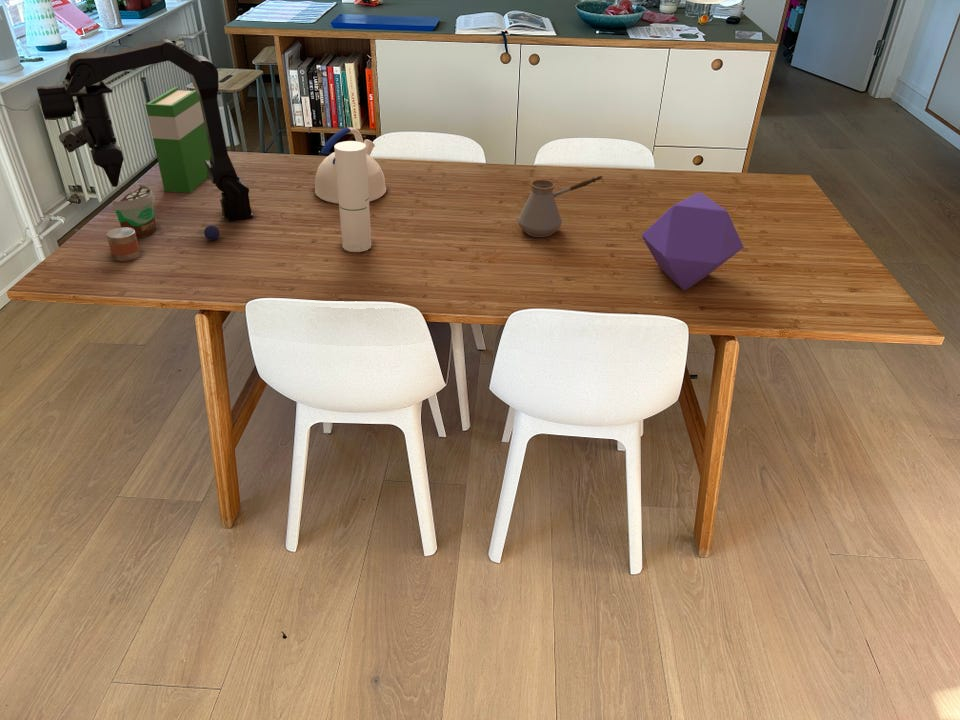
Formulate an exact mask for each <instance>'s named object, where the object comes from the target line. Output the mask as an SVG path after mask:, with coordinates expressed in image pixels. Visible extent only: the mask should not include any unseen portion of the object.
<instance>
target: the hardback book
mask: <svg viewBox="0 0 960 720" xmlns="http://www.w3.org/2000/svg"><path fill="white" fill-rule="evenodd" d="M144 106H145V110H146V114H147V118H148V123H149V127H150V132H151V136H152V141H153V145H154V150H155V154H156V159H157V163H158V166H159V167H158V168H159V173H160V177H161V183H162V187H163V190H164V192H170V193H171V192H173V193H186V194H191V193H192V192H193V191H195V189H196V188H198V187H199V186H200V185H201V184H202V183H203V182H204V181H205V180H206V179H207V178H209V177H208V176H207V167H206V164H205V162H204V161H210V155H211V153H210V148H209V143H208V138H207V133H206V129H205V124H204V119H203V114H202V109H201V105H200V100H199V97H198V94H197V92H196V90H195V89H193V90H179V87H178V86H174V87H173V88H171V89H169V90H167V91H166V92H164V93H162V94H161V95H158V96H157V97H155V98H154V99H152V100H150V101H148V102H146V103H145V104H144Z"/></svg>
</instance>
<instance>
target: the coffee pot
mask: <svg viewBox="0 0 960 720" xmlns="http://www.w3.org/2000/svg"><path fill="white" fill-rule="evenodd" d="M603 178H604V177H603V175H598V176H596V177H592V178H591V179H587V180H583V181H581V182H579V183H576V184H574V185H572V186H569V187H567V188H565V189H562V190H559V191H556V192H554V189H555V188H556V183H555V182H553V181H552V180H549V179H534V180H531V181H530V183H529V186H530V187H531V192H530V194H529V196H528V198H527V200H526V201H525V204H524V206H523V207H522V209H521V211H520V213H519V215H518V217H517V223H518V226H519V227H520V228H521V230H522V231H524V233H525V234H526V235H528V236H531V237H536V238H546V237H550V236H552V235H553V234H555V233H556V232H557V231H558V230H559V229H560V228H561V226H562V224H563V222H562V217H561V214H560V212H559V209H558V205H557V203H556V199H555V198H556V197H558V196H560V195H563V194H566V193H568V192H570V191H575V190H578V189H580V188H583V187H587V186H588V185H589V184H592V183H596V181H600V180H601V183H602V184H603V185H604V184H605V181H604V179H603ZM553 192H554V193H553Z"/></svg>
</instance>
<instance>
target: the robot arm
mask: <svg viewBox="0 0 960 720" xmlns="http://www.w3.org/2000/svg"><path fill="white" fill-rule="evenodd" d="M164 62H170V63H172V64H173V65H175V66H176V67H179V69H181V70H183V71H185V72H186V73H188V76H189V78H190V81H191V83H192V86H193V88H194V90H196V92H197V94H198V97H199V100H200V105H201V109H202V114H203V119H204V124H205V129H206V133H207V138H208V143H209V148H210V153H211V155H210V161H204V162H205V164H206V167H207V176H208V177H207V178H208V179H209V180H210V181H211V183H212V184H213V185H214V186H215V187H216V188H217V189H218V190H219V191H220V194H221V198H220V199H219V201H220V207H221V212H222V215H223V216H224V217H225V218H226V219H227V221H229V222H233V221H238V220H244V219H249V218H250V219H251V218H253V217H254V213H253V212H252V209H251V208H252V207H251V203H250V195H249V194H250V188H249V187H248V186H247V184H246V183H245V182H244V181H243V180H242V178H241V177H239V176H238V173H237V172H236V168H235V167H234V165H233V162H232V160H231V158H230V156H229V152H228V148H227V147H228V146H227V142H226V137H225V132H224V128H223V122H222V121H223V120H222V117H221V116H222V115H221V111H220V106H219V102H218V95H219V89H220V88H219V86H220V85H219V70H218V68H217V66H216V65H215V64H214V63H213V62H211V61H210V60H209V58H207V57H206V56H204V55H198V54H197V55H194V54H192V53H191V52H189V51H187V50H186V49H184V48H182V47H180V46H178V45H177V44H175V43H174V42H173V41H172V40H170V39H167V38H165V39H161V40H159V41H156V42H151V43H146V44H142V45H138V46H133V47H129V48H124V49H119V50H114V51H111V52H110V51H109V52H94V51H90V52H89V51H87V52H75V53H73V54H71V55H70V56H69V57H68V59H67V62H66V67H67V72H66V74H65V77H64V78H63V80H62V82H61V83H62V85H52V86H51V85H50V86H45V85H44V86H43V85H41V86H37V87H36V91H37V94H38V98H39V100H38V102H39V104H40V108H41V111H42V114H43V117H44V120H45V121H48V120H55V119H65V118H72V117H73V115H75V112H76V113H77V112H78V111H77V107H76V104H75V100H74V97H76V103H77V106H78V109H79V113H80V116H81V118H80V123H81V124H79V125H77V126H75V127H72V128H70V129H68V130H66V131H64V132H61V133H60V134H58V139H59V142H60V144H61V145H62V146H63V148H64V149H65V150H66V151H67V153H72V152H75V151H76V150H77V149H79V148H81V147H83V146H85V145H87V146H88V148H89V149H91V150H90V154H91V158H92V161H93V164H94V165H95V166H97V167H100V168H102V169H103V171H104V173H105V175H106V177H107V179H108V181H109V183H110V184H111V187H113V188H117V187H118V186H119V181H120V176H121V172H122V166H123V163H124V160H125V158H124V153H123V151H122V149H121V147H120V146H119V145H117V138H116V135H115V132H114V128H113V123H112V118H111V116H110V113H109V109H108V105H107V101H106V98H105V94H112V93H113V89H112V87H111V86H110V85H109V84H107V83H105V82H104V81H105V80H106V79H108V78H109V77H111V76H113V75H115V74H117V73H120V72H125V71H129V70H135V69H139V68H143V67H147V66H151V65H156V64H161V63H164Z"/></svg>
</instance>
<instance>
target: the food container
mask: <svg viewBox="0 0 960 720" xmlns="http://www.w3.org/2000/svg"><path fill="white" fill-rule="evenodd" d="M138 186H139V188H138V189H136V190H134V191H132V192H129V193H127V194H126V195H124V197H123V198H121V199H120V200H112V202H111V203H112V204H111V205H112V210H113V211H115V214H116V216H117V217H116V218H117V219H118V222H119V225H120V227H129V228H133V229H134V230H135V234H136V237H137V239H138V238H143V237H146V236H149V235H151V234H153V233H154V232H156V231H157V224H156V223H157V221H156V216H155V215H156V214H155V209H154V201H155V199H156V197H155V195H154V192H153V190H152V189H151V188H150V187H149V186H148V185H145V184H141V183H139V184H138Z"/></svg>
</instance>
